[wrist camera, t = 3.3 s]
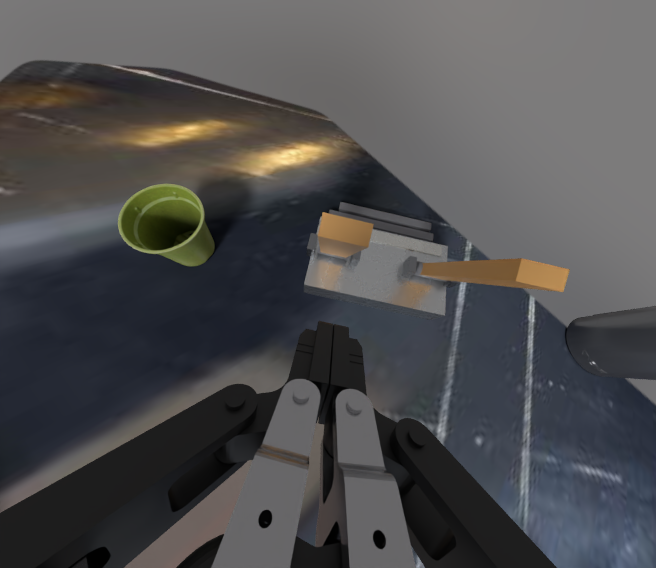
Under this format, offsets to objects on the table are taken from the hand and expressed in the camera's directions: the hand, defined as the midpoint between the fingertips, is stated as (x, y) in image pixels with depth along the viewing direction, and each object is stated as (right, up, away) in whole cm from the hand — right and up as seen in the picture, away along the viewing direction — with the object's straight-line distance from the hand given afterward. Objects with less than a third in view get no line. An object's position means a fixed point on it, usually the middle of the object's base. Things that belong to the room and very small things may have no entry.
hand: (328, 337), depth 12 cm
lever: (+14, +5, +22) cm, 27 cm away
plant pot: (-21, +8, +24) cm, 33 cm away
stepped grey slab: (+9, +13, +29) cm, 33 cm away
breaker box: (+7, +4, +26) cm, 27 cm away
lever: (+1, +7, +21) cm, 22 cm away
